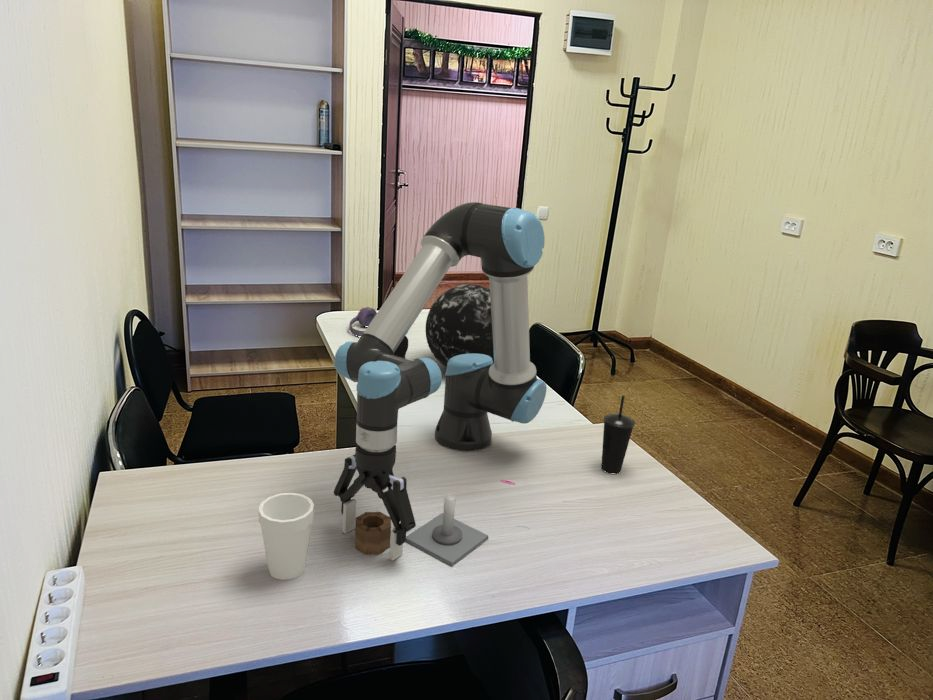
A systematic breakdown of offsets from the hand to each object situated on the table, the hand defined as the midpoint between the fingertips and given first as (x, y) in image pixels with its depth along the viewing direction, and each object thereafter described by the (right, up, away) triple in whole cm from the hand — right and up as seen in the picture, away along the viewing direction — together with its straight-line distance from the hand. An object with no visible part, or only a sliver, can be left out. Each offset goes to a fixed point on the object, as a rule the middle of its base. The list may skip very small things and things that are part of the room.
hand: (371, 543), depth 130 cm
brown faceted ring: (0, 0, 0) cm, 0 cm away
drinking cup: (+55, +8, +37) cm, 67 cm away
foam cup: (-14, -2, -9) cm, 17 cm away
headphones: (-18, +45, +130) cm, 138 cm away
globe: (+18, +30, +96) cm, 103 cm away
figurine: (-6, +34, +101) cm, 107 cm away
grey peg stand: (+15, 0, +3) cm, 15 cm away
